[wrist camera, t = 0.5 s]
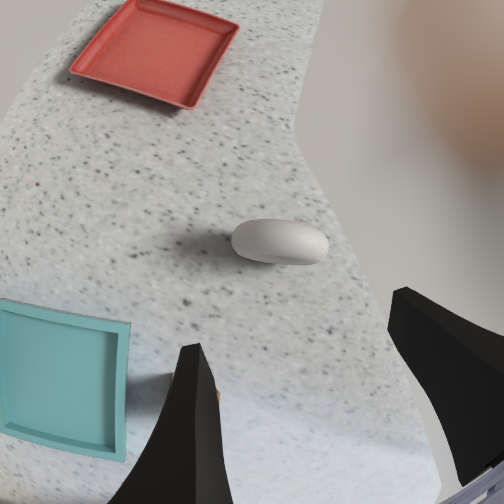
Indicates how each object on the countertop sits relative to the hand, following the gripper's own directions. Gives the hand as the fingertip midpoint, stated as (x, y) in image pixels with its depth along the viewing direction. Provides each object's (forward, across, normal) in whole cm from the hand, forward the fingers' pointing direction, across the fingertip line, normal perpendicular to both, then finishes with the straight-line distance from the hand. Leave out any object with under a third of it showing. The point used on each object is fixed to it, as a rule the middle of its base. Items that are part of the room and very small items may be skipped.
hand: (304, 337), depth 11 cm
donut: (+25, -2, +11) cm, 27 cm away
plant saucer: (+40, +6, -15) cm, 43 cm away
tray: (+14, +24, +15) cm, 31 cm away
